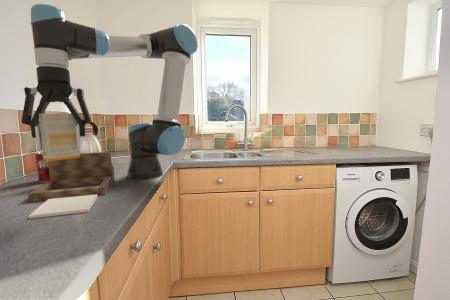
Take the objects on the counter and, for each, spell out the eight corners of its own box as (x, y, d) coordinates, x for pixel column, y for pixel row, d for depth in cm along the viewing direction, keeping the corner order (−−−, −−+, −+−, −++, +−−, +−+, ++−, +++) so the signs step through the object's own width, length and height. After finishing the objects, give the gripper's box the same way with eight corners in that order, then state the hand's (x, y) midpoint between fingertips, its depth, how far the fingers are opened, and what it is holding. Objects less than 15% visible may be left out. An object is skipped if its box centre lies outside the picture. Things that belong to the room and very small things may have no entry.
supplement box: (74, 156, 76) (70, 113, 75) (80, 157, 73) (76, 113, 72) (42, 160, 70) (37, 113, 68) (47, 161, 67) (42, 112, 65)
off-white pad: (97, 196, 82) (97, 194, 82) (88, 211, 69) (88, 209, 69) (48, 201, 78) (48, 199, 78) (28, 218, 65) (28, 215, 65)
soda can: (36, 180, 104) (32, 152, 103) (56, 177, 110) (53, 150, 108) (40, 183, 99) (36, 154, 98) (61, 180, 105) (58, 152, 103)
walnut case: (115, 180, 104) (112, 151, 103) (107, 194, 85) (105, 159, 83) (52, 185, 97) (48, 154, 96) (29, 201, 78) (24, 164, 77)
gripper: (99, 71, 75) (104, 145, 78) (12, 68, 69) (21, 148, 72) (94, 67, 68) (100, 148, 71) (-4, 62, 61) (8, 152, 64)
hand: (61, 148), depth 71 cm, fingers closed on supplement box, 9 cm apart
